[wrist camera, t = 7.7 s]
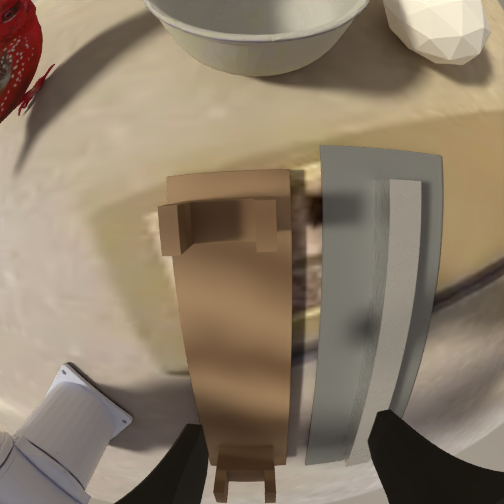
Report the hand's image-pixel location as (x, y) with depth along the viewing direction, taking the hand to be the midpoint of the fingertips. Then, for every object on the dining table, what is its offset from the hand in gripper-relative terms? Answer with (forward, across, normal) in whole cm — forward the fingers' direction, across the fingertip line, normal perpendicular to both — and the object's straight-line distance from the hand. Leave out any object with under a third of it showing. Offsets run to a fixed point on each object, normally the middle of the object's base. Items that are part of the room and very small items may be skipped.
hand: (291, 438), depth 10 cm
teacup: (+9, +2, -21) cm, 23 cm away
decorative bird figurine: (+10, +20, -18) cm, 29 cm away
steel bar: (+9, -8, +2) cm, 12 cm away
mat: (+9, -8, +2) cm, 12 cm away
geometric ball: (+9, -11, -22) cm, 27 cm away
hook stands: (+9, +3, +2) cm, 10 cm away
